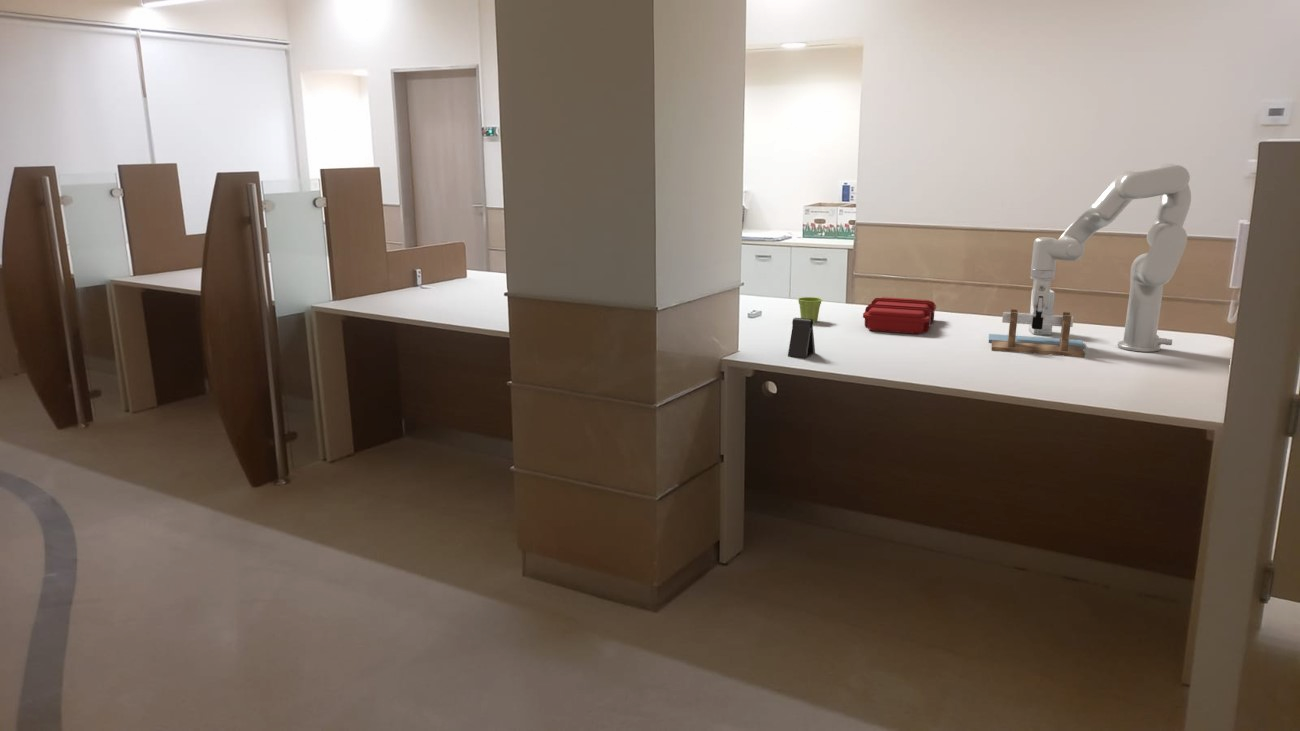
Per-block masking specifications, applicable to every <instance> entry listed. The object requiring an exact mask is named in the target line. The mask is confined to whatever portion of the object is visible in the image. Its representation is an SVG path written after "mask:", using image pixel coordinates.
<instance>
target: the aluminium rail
mask: <svg viewBox="0 0 1300 731" xmlns="http://www.w3.org/2000/svg"><path fill="white" fill-rule="evenodd" d="M1010 314H1011V311H1003V313H1002V320H1001V321H1002V322H1001V323H1003V324H1004V323H1005V324H1010ZM1033 317H1034V314H1031V313H1030V312H1018V317H1017V325H1018V324H1020V325H1029V324H1032V322H1033ZM1062 319H1063V314H1062V315H1060V314H1053V315H1047V314H1043V325H1047V326H1052V327H1062ZM1073 327H1074V316H1073V315H1071V325H1070V328H1073Z"/></svg>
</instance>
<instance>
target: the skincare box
mask: <svg viewBox="0 0 1300 731" xmlns="http://www.w3.org/2000/svg"><path fill="white" fill-rule="evenodd" d="M1032 292H1033V288H1032V289H1031V293H1032ZM1055 295H1056V292H1055V291H1054V290H1052V288H1050V297H1049V308H1048V309H1046V308H1045V307H1044V310H1043V314H1047V315H1054V310H1055V309H1054V307H1055ZM1030 297H1031V298H1030V309H1029V310H1030V311H1029V313H1031V314H1033V312H1034V308H1033V305H1032V294H1031V296H1030ZM1028 331H1029V333H1031V334H1032V335H1036V336H1037V335H1039V336H1052V334H1053V333H1052V332H1053V326H1047V325H1042V329H1032V324H1028Z"/></svg>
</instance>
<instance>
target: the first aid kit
mask: <svg viewBox="0 0 1300 731" xmlns="http://www.w3.org/2000/svg"><path fill="white" fill-rule="evenodd" d="M936 309H937V305H936V304H935V302H934V301H932V300H929V299H921V298H919V299H918V298H903V297H902V298H901V297H885V296H882V297H875V298H873V299H872V300H871V303H869V304H868V305H867V306H866V307H865V311H864V312H863V313H862V318H863V319H864V327H865V328H867V330H869V331H876V332H890V333H903V334H915V335H916V334H917V335H918V334H922V332H923V333H928V332H929V330H930V328H931V325H932V324H933V323H934V320H935V310H936Z"/></svg>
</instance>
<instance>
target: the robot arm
mask: <svg viewBox="0 0 1300 731" xmlns="http://www.w3.org/2000/svg"><path fill="white" fill-rule="evenodd" d="M1190 177H1191V176H1190V173H1189V170H1188V169H1187V168H1186V167H1185V166H1183V165H1180V164H1174V163H1173V164H1172V163H1164V164H1161V165H1159V166H1157V167H1156V168H1154V169H1149V170H1148V169H1147V170H1143V171H1140V170H1139V171H1131V170H1128V171H1123V172H1121V173H1119V174H1118V175H1117V176H1116V177H1115V178H1114V179H1113V180H1112V181H1111V183H1109V185H1108V186H1107V187H1106V188H1105V190H1103V191H1102V193H1101V194H1100V195H1099V196H1098V197H1097V198H1096V199H1095V200H1094V202H1093V203H1092V204H1091V205H1090V206H1089V207H1088V208H1087V209H1086V210H1084V212H1083V213H1082V214H1080V216H1079V217H1077V218H1076V219H1075V220H1074V221H1073V222H1072V223H1071V224H1070V225H1069V226H1068V227H1067V228H1066V230H1065V231H1064V232H1063V233H1062V234H1061V236H1060V237H1059V238H1058V239H1057V238H1056V237H1050V236H1049V237H1048V236H1040V237H1037V238H1035V239H1034V241H1033V244H1032V245H1033V247H1032V255H1031V256H1032V257H1031V268H1030V277H1029V278H1030V279H1031V280H1033V282H1032V289H1033V292H1032V291H1031V295H1032V305H1033V308H1034V312H1033V314H1034V317H1033V322H1032V329H1042V325H1043V310H1044V307H1045V308H1046V309H1048V308H1049V297H1050V289H1051V283H1052V282H1051V281H1054V280H1055V275H1056V266H1057V260H1059V261H1063V262H1064V261H1066V262H1074V261H1078V260H1080V259H1081V258H1082V257H1083V256H1084V253H1085V246H1084V244H1085V243H1086V242H1087V241H1088V239H1090V237H1092V236H1093V235H1094V234H1095V233H1097V232H1098V231H1099V230H1101V229H1103V228H1105V227H1107V226H1109V225H1110V224H1112V223H1113V222H1114V221H1115V220H1116V219H1117V217H1119V215H1120V214H1121V213H1122V212H1123V211H1124V210H1125V208H1126V207H1127V206H1128V205H1129V204H1130V203H1131V202H1133V200H1140V199H1141V200H1142V199H1147V198H1155V197H1158V196H1160V200H1159V204H1158V208H1157V210H1156V214H1155V215H1154V218H1153V220H1152V222H1151V225H1150V227H1149V230H1148V231H1147V234H1146V242H1147V244H1148V245H1149V250H1148V252H1145V253H1142V254H1140V255H1138V256H1137V257H1136V258H1134V260H1133V262H1132V264H1131V266H1130V278H1129V279H1130V280H1129V281H1130V283H1129V284H1130V285H1129V296H1128V302H1127V310H1126V318H1125V324H1124V332H1123V334H1124V335H1123V340H1120V341H1118V342H1117V347H1118V348H1120V349H1123V350H1127V351H1132V352H1141V353H1142V352H1147V353H1153V352H1159V351H1160V350H1161V345H1165V346H1172V345H1173V339H1170V338H1163V337H1159V336H1158V328H1159V321H1160V316H1161V314H1160V313H1161V308H1162V307H1161V306H1162V300H1163V291H1164V285H1166V284H1167V283H1169V282H1170V281H1171V279H1172V278H1173V276H1174V274H1175V272H1176V270H1177V269H1178V266H1179V264H1180V261H1181V259H1182V257H1183V255H1184V251H1185V249H1186V247H1187V243H1188V234H1187V231H1186V230H1185V228H1184V227H1183V226H1184V224H1185V221H1186V219H1187V216H1188V212H1189V210H1190V206H1191V201H1192V193H1191V189H1190V185H1189V183H1190V179H1191V178H1190Z"/></svg>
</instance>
